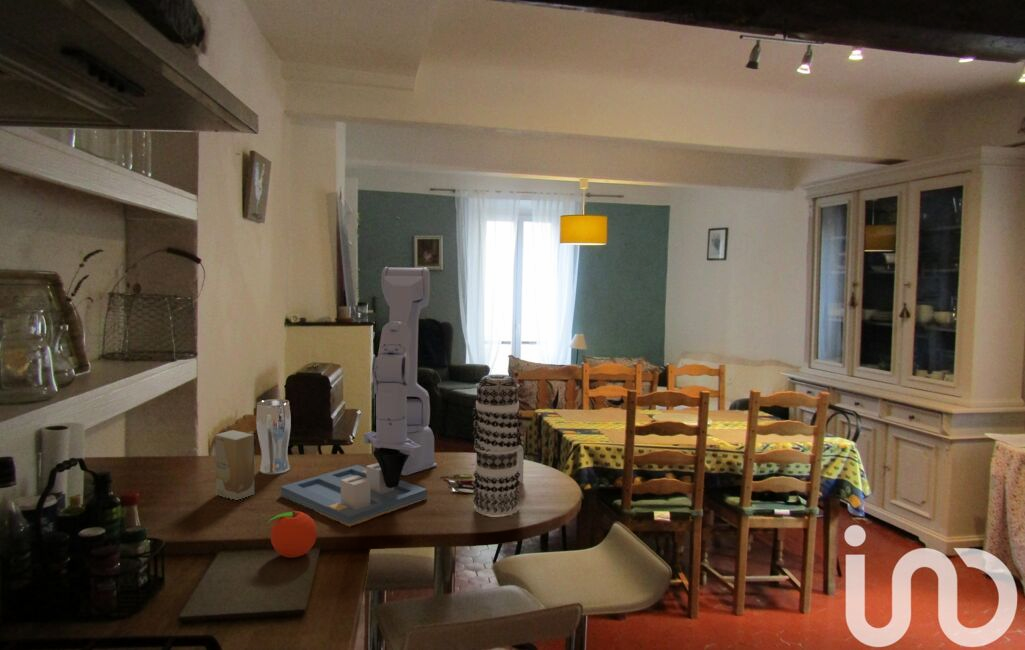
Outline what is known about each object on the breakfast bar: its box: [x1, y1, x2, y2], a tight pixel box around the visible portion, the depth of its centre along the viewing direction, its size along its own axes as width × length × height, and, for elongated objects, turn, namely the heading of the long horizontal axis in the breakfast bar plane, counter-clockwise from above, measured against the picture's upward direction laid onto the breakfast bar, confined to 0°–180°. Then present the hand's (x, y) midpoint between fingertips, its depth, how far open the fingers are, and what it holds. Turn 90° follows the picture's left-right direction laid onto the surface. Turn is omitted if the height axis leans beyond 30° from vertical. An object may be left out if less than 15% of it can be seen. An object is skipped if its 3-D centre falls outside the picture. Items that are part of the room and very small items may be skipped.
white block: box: [365, 462, 394, 494], centre depth 132 cm, size 4×4×5 cm
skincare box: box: [214, 429, 255, 501], centre depth 131 cm, size 6×4×12 cm
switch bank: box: [280, 464, 428, 524], centre depth 131 cm, size 18×22×2 cm
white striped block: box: [341, 475, 371, 510], centre depth 124 cm, size 4×4×5 cm
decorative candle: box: [471, 374, 523, 515], centre depth 125 cm, size 9×9×25 cm
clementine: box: [263, 511, 318, 559], centre depth 106 cm, size 8×7×7 cm
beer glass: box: [255, 398, 292, 476], centre depth 146 cm, size 7×7×15 cm
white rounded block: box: [517, 444, 525, 485], centre depth 139 cm, size 4×6×12 cm
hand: (392, 486), depth 130 cm, fingers closed
